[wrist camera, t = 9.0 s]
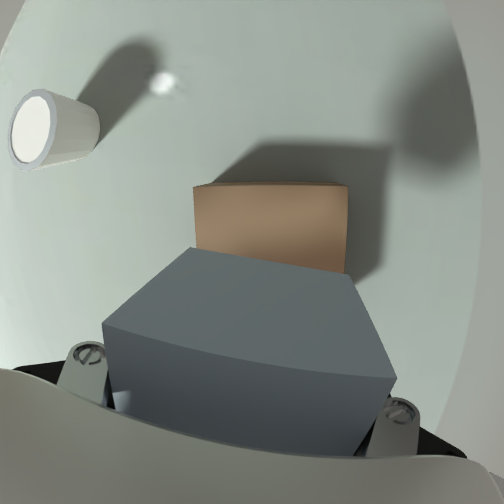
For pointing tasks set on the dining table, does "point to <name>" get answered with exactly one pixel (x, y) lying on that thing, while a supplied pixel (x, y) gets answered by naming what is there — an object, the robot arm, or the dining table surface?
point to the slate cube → (250, 355)
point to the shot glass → (51, 130)
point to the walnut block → (275, 221)
